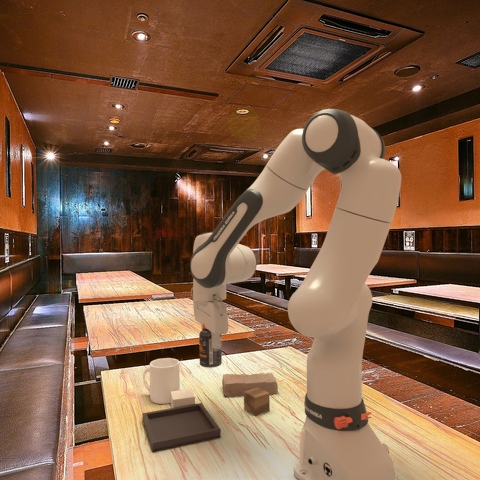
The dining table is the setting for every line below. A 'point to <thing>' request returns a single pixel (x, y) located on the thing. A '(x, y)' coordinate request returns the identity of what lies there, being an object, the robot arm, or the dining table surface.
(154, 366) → the mug
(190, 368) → the dining table surface
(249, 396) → the walnut cube
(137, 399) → the dining table surface
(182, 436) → the tray
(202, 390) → the dining table surface
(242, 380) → the brick
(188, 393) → the ceramic block
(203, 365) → the pill bottle
